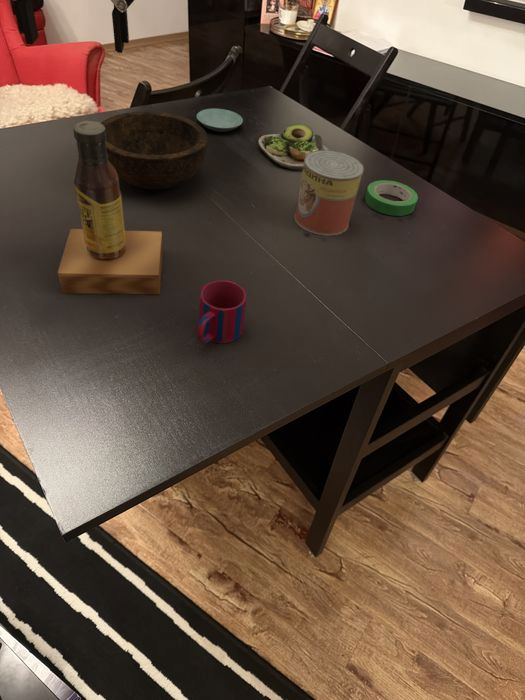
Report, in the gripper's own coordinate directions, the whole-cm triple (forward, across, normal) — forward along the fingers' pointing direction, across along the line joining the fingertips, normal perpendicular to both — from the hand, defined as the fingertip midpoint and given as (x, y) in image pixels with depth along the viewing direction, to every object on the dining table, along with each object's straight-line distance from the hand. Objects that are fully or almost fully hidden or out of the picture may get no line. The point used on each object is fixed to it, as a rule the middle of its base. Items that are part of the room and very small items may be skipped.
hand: (77, 45), depth 55 cm
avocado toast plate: (+33, -39, -49) cm, 71 cm away
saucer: (+33, -21, -62) cm, 73 cm away
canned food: (+33, -40, -19) cm, 55 cm away
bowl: (+33, -6, -32) cm, 47 cm away
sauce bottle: (+30, 0, -1) cm, 30 cm away
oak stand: (+33, -1, -1) cm, 33 cm away
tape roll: (+33, -57, -27) cm, 71 cm away
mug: (+34, -17, +14) cm, 40 cm away
